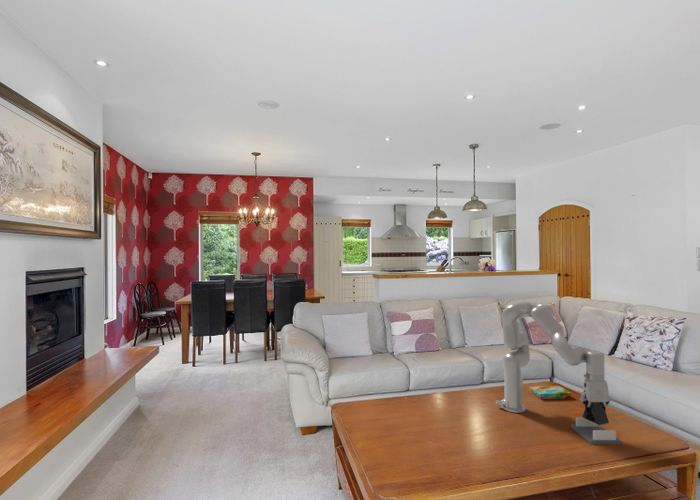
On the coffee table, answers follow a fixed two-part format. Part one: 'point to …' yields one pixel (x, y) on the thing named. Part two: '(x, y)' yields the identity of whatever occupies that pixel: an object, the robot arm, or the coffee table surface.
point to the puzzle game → (549, 392)
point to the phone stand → (597, 414)
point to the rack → (595, 432)
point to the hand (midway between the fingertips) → (595, 413)
